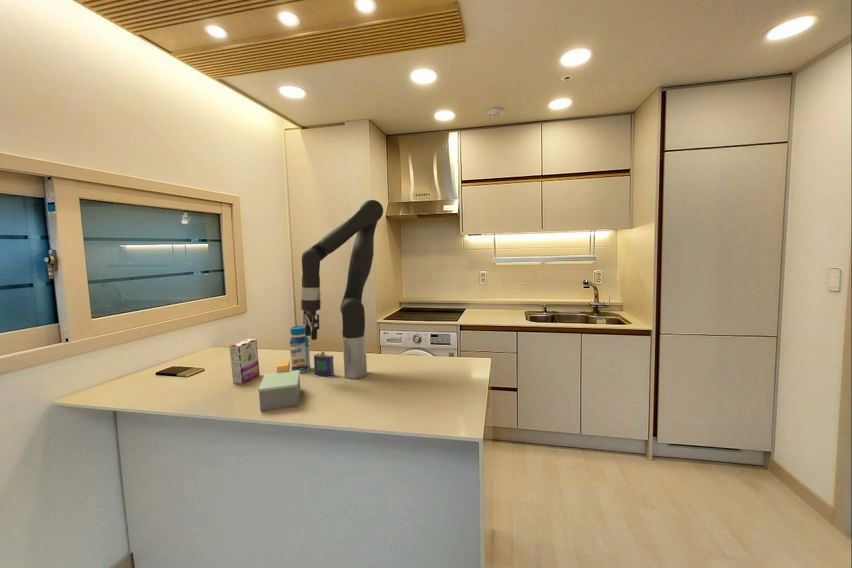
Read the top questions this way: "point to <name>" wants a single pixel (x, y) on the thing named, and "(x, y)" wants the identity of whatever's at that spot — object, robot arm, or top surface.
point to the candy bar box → (244, 361)
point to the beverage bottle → (299, 349)
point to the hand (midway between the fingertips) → (311, 337)
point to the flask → (323, 364)
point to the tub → (279, 398)
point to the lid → (280, 378)
